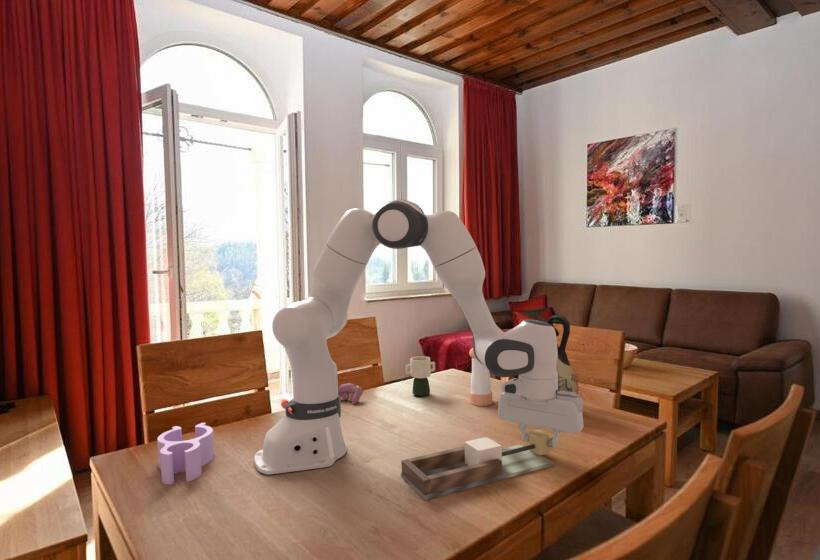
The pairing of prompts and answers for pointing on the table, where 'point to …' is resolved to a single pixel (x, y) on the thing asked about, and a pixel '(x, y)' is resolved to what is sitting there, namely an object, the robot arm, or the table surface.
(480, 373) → the pepper shaker
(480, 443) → the block plunger with rod
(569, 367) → the ceramic jug
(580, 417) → the robot arm
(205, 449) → the clip
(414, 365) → the cream green tall piece
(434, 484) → the shelf lane
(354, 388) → the video game controller
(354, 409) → the table surface
